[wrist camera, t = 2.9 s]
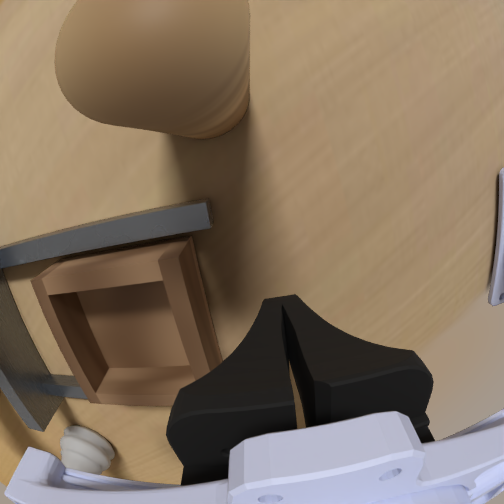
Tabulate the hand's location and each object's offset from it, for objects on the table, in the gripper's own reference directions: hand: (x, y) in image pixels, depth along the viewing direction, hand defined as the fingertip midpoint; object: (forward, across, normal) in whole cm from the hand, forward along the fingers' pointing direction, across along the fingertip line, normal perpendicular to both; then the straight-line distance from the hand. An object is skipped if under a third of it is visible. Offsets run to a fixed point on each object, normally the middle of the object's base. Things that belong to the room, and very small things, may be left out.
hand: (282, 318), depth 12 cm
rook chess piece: (+2, +16, +11) cm, 19 cm away
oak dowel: (+2, +2, -9) cm, 9 cm away
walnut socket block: (+2, +7, 0) cm, 7 cm away
